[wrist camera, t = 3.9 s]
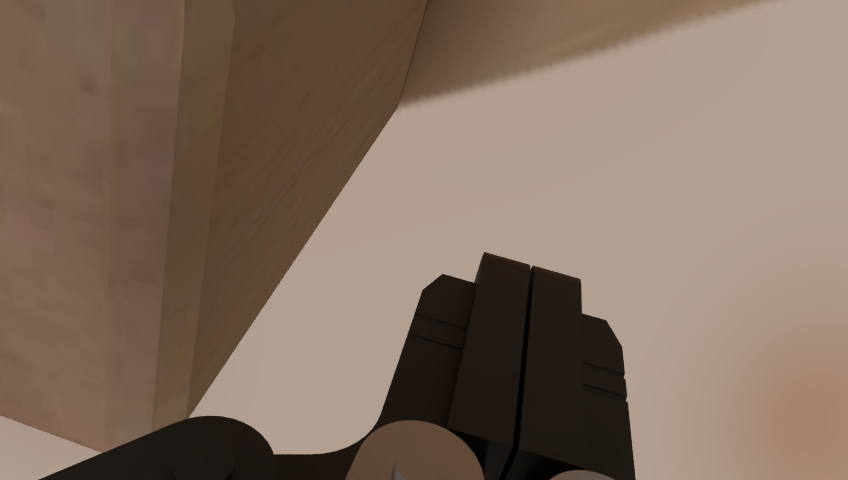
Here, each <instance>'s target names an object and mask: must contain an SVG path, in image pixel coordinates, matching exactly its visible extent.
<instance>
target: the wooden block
mask: <svg viewBox="0 0 848 480" xmlns="http://www.w3.org/2000/svg"><path fill="white" fill-rule="evenodd" d="M427 2H428V0H0V415H1V416H3V417H6V418H9V419H12V420H14V421H17V422H20V423H23V424H25V425H28V426H31V427H33V428H36V429H39V430H42V431H44V432H47V433H50V434H52V435H55V436H58V437H61V438H63V439H67V440H69V441H72V442H74V443H77V444H80V445H82V446H85V447H88V448H91V449H93V450H96V451H99V452H102V453H104V452H106V451H109V450H111V449H113V448H116V447H118V446H120V445H123V444H125V443H128V442H130V441H132V440H135V439H137V438H140V437H142V436H144V435H147V434H149V433H152V432H154V431H156V430H159V429H161V428H163V427H166V426H168V425H171V424H173V423H176V422H179V421H182V420H184V419H188V418H189V417H190V415H191V414H192V412H193V411H194V409H195V408H196V406H197V405H198V403H199V402H200V400H201V399H202V397H203V396H204V394H205V393H206V391H207V390H208V388H209V387H210V385H211V384H212V382H213V381H214V379H215V378H216V376H217V375H218V374H219V372H220V371H221V369H222V367H223V366H224V365H225V363H226V362H227V360H228V359H229V357H230V356H231V354H232V353H233V351H234V350H235V348H236V346H237V345H238V344H239V342H240V341H241V339H242V338H243V336H244V335H245V333H246V332H247V330H248V329H249V327H250V326H251V324H252V323H253V321H254V320H255V318H256V317H257V315H258V314H259V312H260V311H261V310H262V308H263V307H264V305H265V304H266V302H267V301H268V299H269V298H270V296H271V295H272V293H273V292H274V290H275V289H276V287H277V286H278V284H279V283H280V281H281V280H282V278H283V277H284V275H285V274H286V272H287V271H288V269H289V268H290V266H291V265H292V263H293V262H294V260H295V259H296V257H297V256H298V254H299V253H300V252H301V250H302V249H303V247H304V246H305V244H306V243H307V241H308V240H309V238H310V237H311V235H312V234H313V232H314V231H315V229H316V228H317V226H318V225H319V223H320V222H321V220H322V219H323V217H324V216H325V214H326V213H327V211H328V210H329V208H330V207H331V205H332V204H333V202H334V201H335V199H336V198H337V196H338V195H339V194H340V192H341V191H342V189H343V187H344V186H345V185H346V183H347V182H348V180H349V179H350V177H351V175H352V174H353V173H354V171H355V170H356V168H357V167H358V165H359V164H360V162H361V161H362V159H363V157H364V156H365V155H366V153H367V152H368V150H369V149H370V147H371V146H372V144H373V143H374V141H375V140H376V138H377V137H378V135H379V134H380V132H381V131H382V129H383V128H384V127H385V125H386V124H387V122H388V121H389V119H390V118H391V116H392V115H393V113H394V112H395V110H396V109H397V107H398V103H399V100H400V96H401V93H402V89H403V86H404V82H405V79H406V75H407V72H408V68H409V65H410V61H411V58H412V55H413V51H414V48H415V44H416V41H417V37H418V34H419V30H420V27H421V23H422V20H423V16H424V13H425V9H426V6H427Z"/></svg>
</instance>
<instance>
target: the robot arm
mask: <svg viewBox="0 0 848 480" xmlns="http://www.w3.org/2000/svg"><path fill="white" fill-rule="evenodd" d="M624 374H625V371H624V361H623V351H622V346H621V344H620V343H619V341H618V339H617V338H616V336H615V335H614V333H613V331H612V329H611V328H610V326H609V325H608V323H607V321H606V320H603V319H600V318H596V317H592V316H589V315H585V314H582V303H581V281H580V279H579V278H575V277H571V276H568V275H564V274H561V273H558V272H554V271H550V270H547V269H543V268H540V267H536V266H533V267H532V268H531V270H530V265H528V264H525V263H521V262H518V261H514V260H511V259H507V258H504V257H500V256H496V255H493V254H489V253H486V252H484V254H483V256H482V259H481V262H480V265H479V269H478V272H477V275H476V278H475V282H474V283H473V282H469V281H466V280H462V279H459V278H455V277H452V276H448V275H444V274H442V275H441V276H439V277H438V278H437V279H436V280H434V281H433V282H432V283H431V284H430V285H428V286H427V287H426V288H425V289H423V290H422V293H421V296H420V299H419V302H418V305H417V308H416V311H415V315H414V318H413V320H412V323H411V326H410V329H409V332H408V335H407V338H406V341H405V344H404V347H403V350H402V353H401V356H400V359H399V362H398V365H397V368H396V371H395V373H394V377H393V380H392V382H391V385H390V388H389V391H388V394H387V397H386V400H385V403H384V406H383V409H382V412H381V415H380V417H379V419H378V421H377V423H376V424H375V426H374V428H373V429H372V430H371V431H370V432H369V433H368V434H367V435H366V436H365V437H364V438H362V439H361V440H359V441H358V442H357V443H355V444H353V445H351V446H349V447H347V448H344V449H341V450H338V451H335V452H330V453H325V454H312V455H310V454H306V455H304V454H302V455H301V454H295V455H294V454H293V455H292V454H285V455H284V454H279V455H278V454H276V455H275V454H273V451H272V449H271V447H270V445H269V444H268V442H267V441H266V439H265V438H264V437H263V436H262V435H261V434H260V433H259V432H258V431H256V430H255V429H254V428H252V427H251V426H249V425H247V424H245V423H243V422H241V421H238V420H235V419H232V418H226V417H221V416H201V417H194V418H189V419H184V420H182V421H179V422H176V423H173V424H171V425H168V426H166V427H163V428H161V429H159V430H156V431H154V432H152V433H149V434H147V435H144V436H142V437H140V438H137V439H135V440H132V441H130V442H128V443H125V444H123V445H120V446H118V447H116V448H113V449H111V450H109V451H106V452H104V453H101V454H99V455H97V456H94V457H92V458H89V459H87V460H85V461H82V462H80V463H78V464H75V465H73V466H71V467H68V468H66V469H63V470H61V471H59V472H56V473H54V474H51V475H49V476H47V477H44V478H42V479H39V480H636V479H635V469H634V459H633V450H632V440H631V430H630V420H629V410H628V402H626V398H627V390H626V382H625V379H624Z"/></svg>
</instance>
